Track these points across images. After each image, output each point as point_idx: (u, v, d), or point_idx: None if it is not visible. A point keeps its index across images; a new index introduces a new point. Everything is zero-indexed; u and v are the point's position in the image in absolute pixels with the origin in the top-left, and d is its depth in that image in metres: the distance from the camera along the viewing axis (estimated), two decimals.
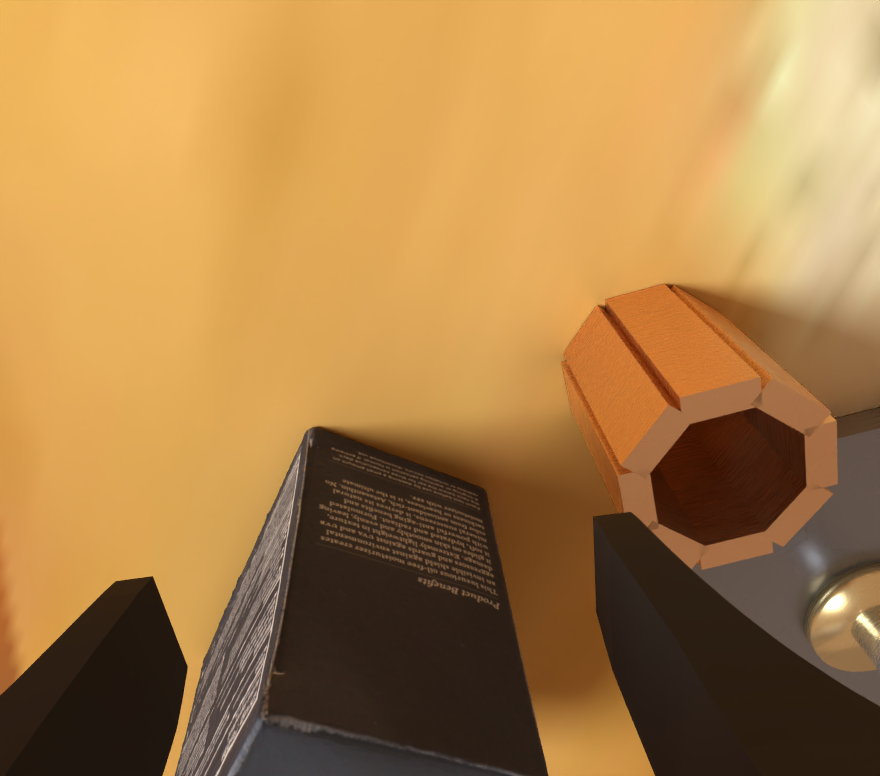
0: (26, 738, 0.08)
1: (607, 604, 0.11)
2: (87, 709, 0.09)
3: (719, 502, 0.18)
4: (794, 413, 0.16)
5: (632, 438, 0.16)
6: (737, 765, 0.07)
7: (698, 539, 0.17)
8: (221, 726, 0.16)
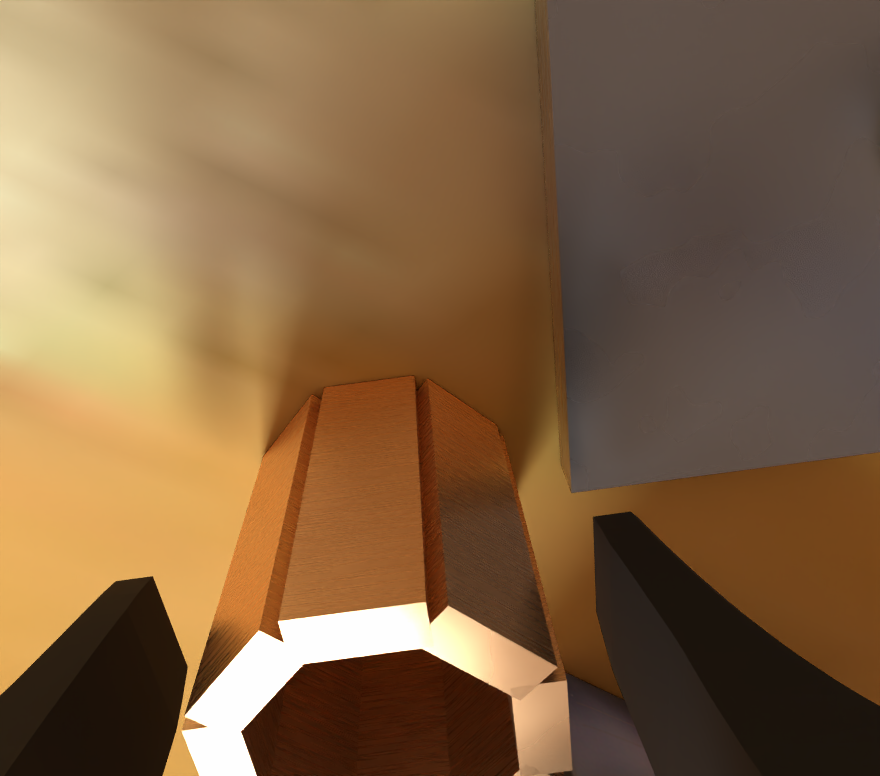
0: (26, 738, 0.08)
1: (607, 604, 0.11)
2: (87, 709, 0.09)
3: None
4: (255, 684, 0.09)
5: None
6: (737, 765, 0.07)
7: (512, 763, 0.10)
8: None
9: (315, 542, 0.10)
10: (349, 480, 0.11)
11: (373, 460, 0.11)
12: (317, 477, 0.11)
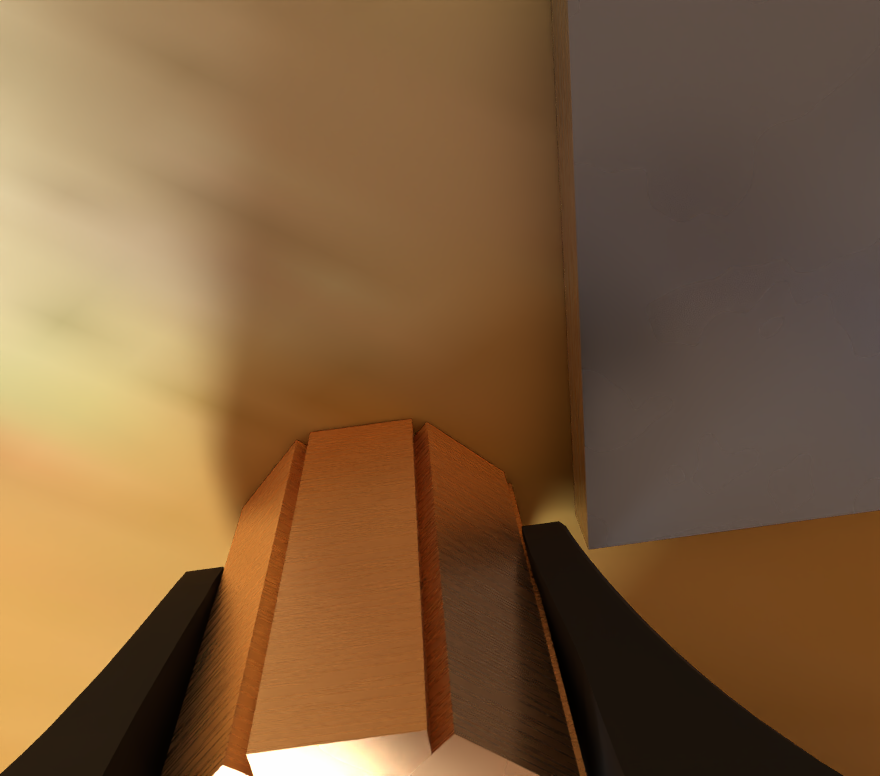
0: (125, 725, 0.08)
1: None
2: (174, 697, 0.09)
3: None
4: None
5: None
6: None
7: None
8: None
9: (294, 640, 0.08)
10: (336, 554, 0.09)
11: (364, 529, 0.10)
12: (299, 550, 0.09)
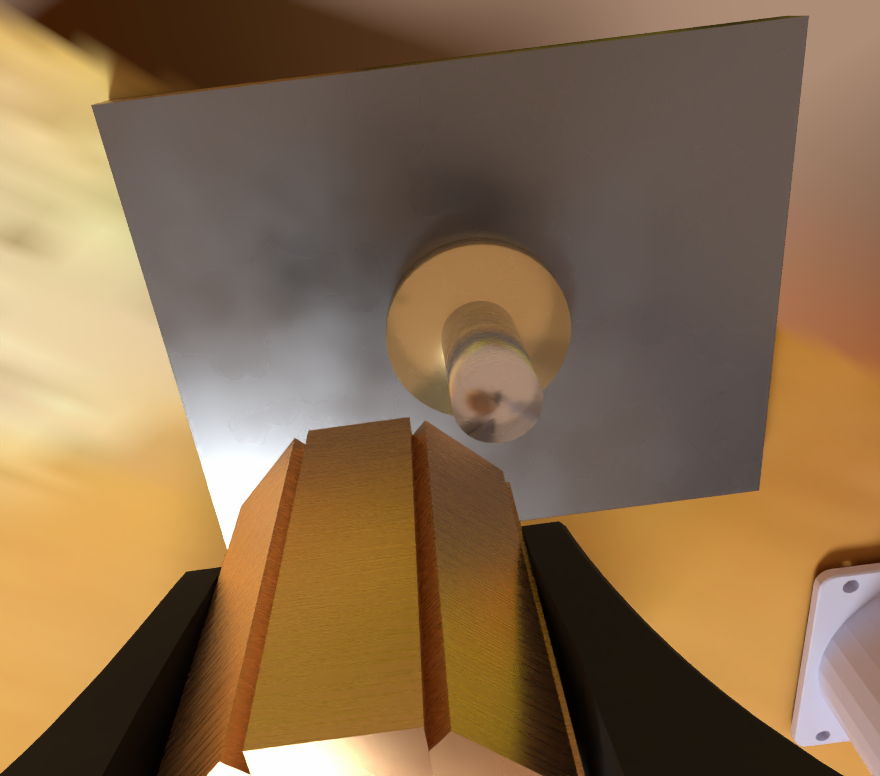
0: (125, 725, 0.08)
1: None
2: (174, 697, 0.09)
3: None
4: None
5: None
6: None
7: None
8: None
9: (291, 637, 0.08)
10: (333, 551, 0.09)
11: (362, 526, 0.10)
12: (296, 547, 0.09)
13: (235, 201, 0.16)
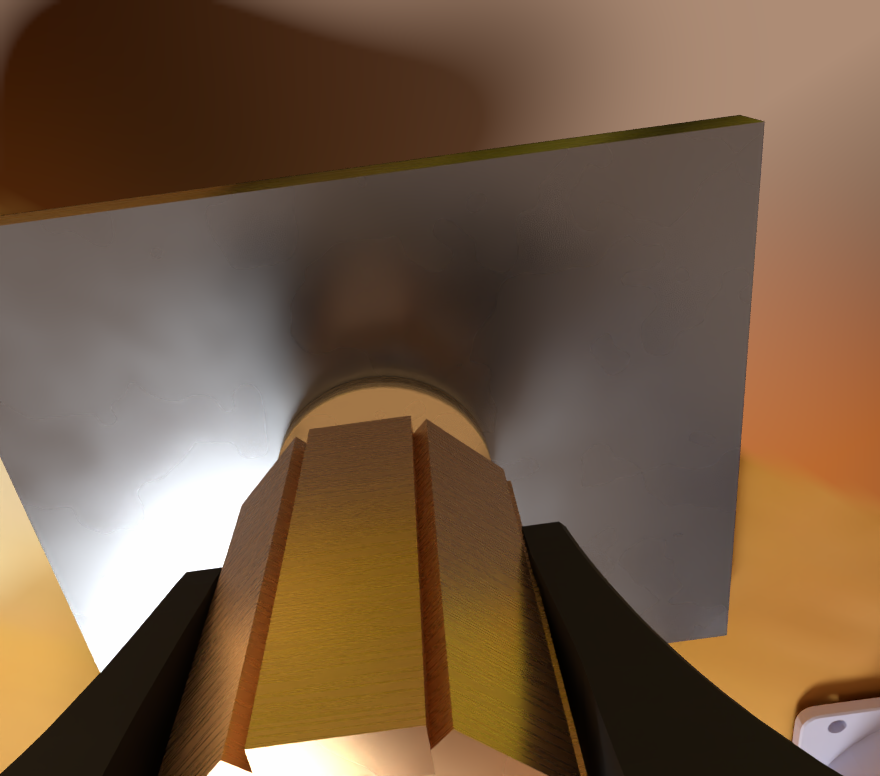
0: (124, 725, 0.08)
1: None
2: (174, 697, 0.09)
3: None
4: None
5: None
6: None
7: None
8: None
9: (293, 636, 0.08)
10: (335, 550, 0.09)
11: (363, 525, 0.10)
12: (298, 546, 0.09)
13: (86, 342, 0.14)
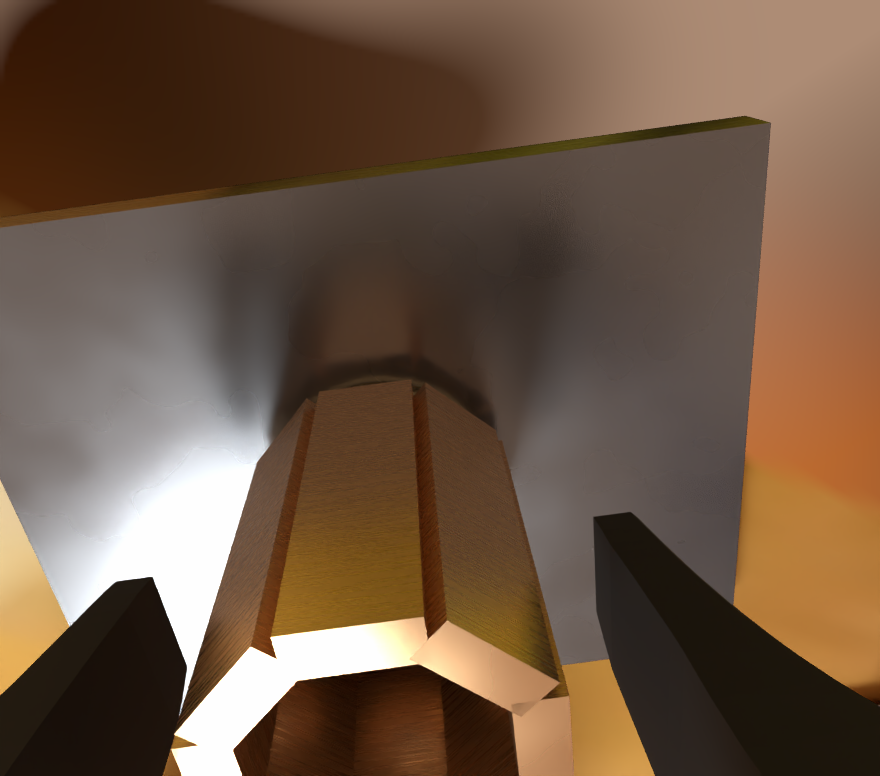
0: (26, 738, 0.08)
1: (607, 604, 0.11)
2: (87, 709, 0.09)
3: None
4: (247, 701, 0.08)
5: None
6: (738, 765, 0.07)
7: None
8: None
9: (309, 553, 0.09)
10: (345, 487, 0.11)
11: (369, 468, 0.11)
12: (311, 485, 0.11)
13: (79, 347, 0.13)
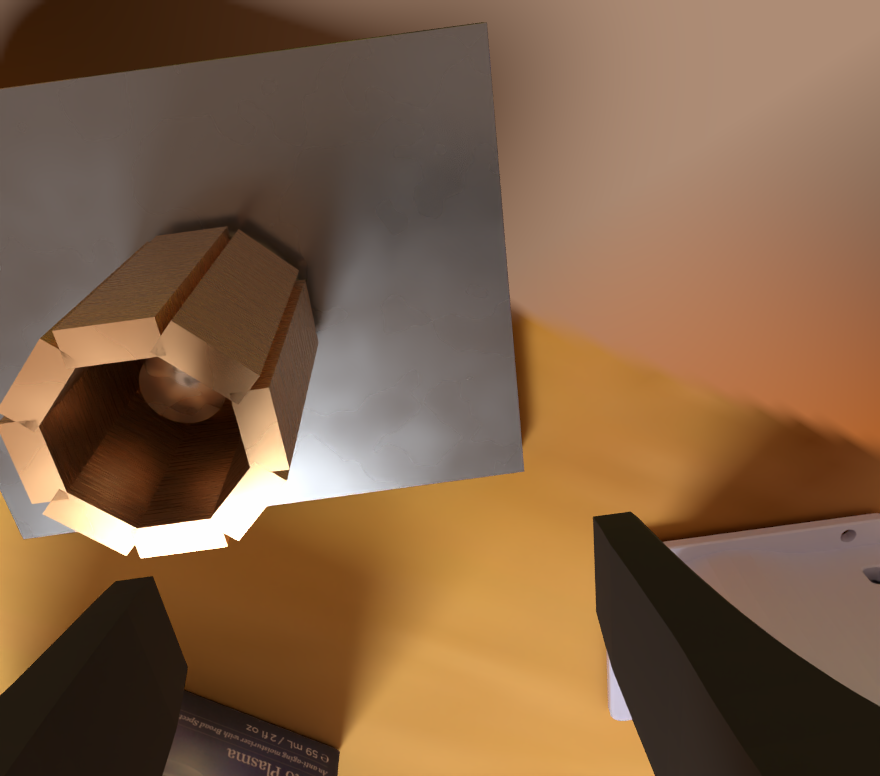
0: (26, 738, 0.08)
1: (607, 604, 0.11)
2: (87, 709, 0.09)
3: None
4: (43, 383, 0.12)
5: (102, 533, 0.14)
6: (738, 764, 0.07)
7: (248, 467, 0.14)
8: None
9: (99, 300, 0.13)
10: (142, 274, 0.15)
11: (165, 265, 0.15)
12: (121, 275, 0.15)
13: None
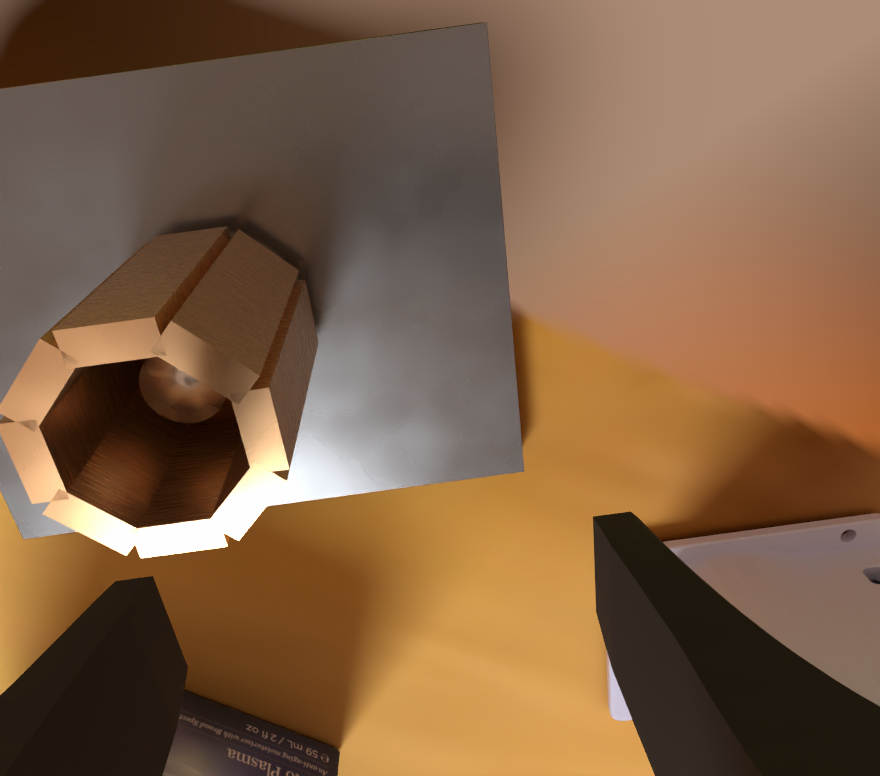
0: (26, 738, 0.08)
1: (607, 604, 0.11)
2: (87, 709, 0.09)
3: None
4: (43, 383, 0.12)
5: (102, 533, 0.14)
6: (738, 764, 0.07)
7: (248, 467, 0.14)
8: None
9: (99, 300, 0.13)
10: (142, 274, 0.15)
11: (165, 265, 0.15)
12: (121, 275, 0.15)
13: None
